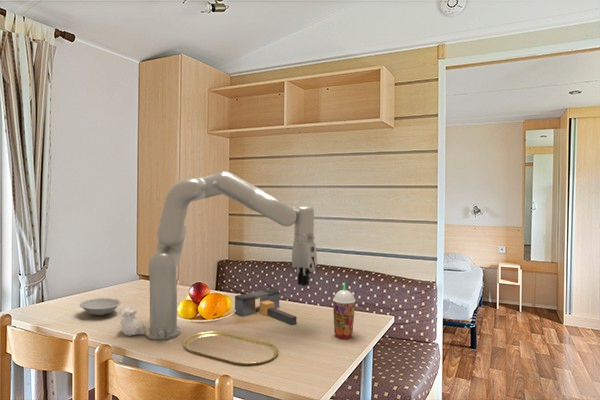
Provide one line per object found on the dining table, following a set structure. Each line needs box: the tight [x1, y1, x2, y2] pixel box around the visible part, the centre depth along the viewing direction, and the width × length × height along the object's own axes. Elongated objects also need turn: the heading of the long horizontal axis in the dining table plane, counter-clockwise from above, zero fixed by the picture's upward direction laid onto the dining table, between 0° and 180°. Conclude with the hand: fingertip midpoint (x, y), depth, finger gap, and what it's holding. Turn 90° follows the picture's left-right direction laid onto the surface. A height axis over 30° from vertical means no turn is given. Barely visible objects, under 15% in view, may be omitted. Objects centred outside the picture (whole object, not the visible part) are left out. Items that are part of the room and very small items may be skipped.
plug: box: [259, 300, 298, 326], centre depth 171 cm, size 20×4×5 cm, turn 43°
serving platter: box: [183, 330, 279, 366], centre depth 139 cm, size 19×35×2 cm, turn 62°
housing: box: [234, 288, 280, 317], centre depth 182 cm, size 6×20×8 cm, turn 133°
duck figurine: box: [119, 306, 146, 337], centre depth 151 cm, size 12×8×11 cm
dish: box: [79, 297, 122, 316], centre depth 172 cm, size 18×14×5 cm
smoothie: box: [332, 282, 356, 340], centre depth 152 cm, size 8×8×20 cm
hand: (303, 284), depth 160 cm, fingers closed
